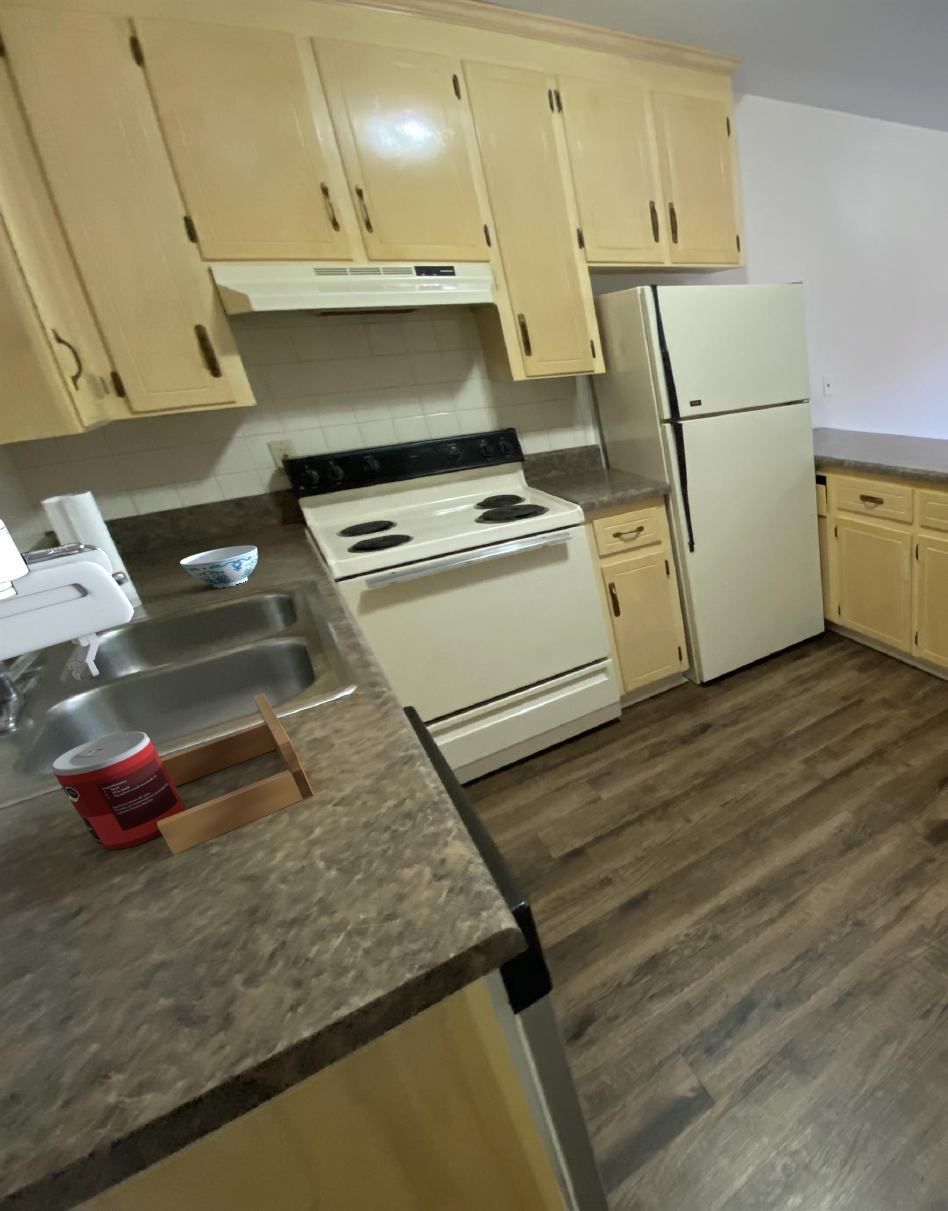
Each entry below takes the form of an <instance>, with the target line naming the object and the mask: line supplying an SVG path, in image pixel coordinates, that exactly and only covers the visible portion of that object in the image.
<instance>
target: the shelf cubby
mask: <svg viewBox="0 0 948 1211" xmlns="http://www.w3.org/2000/svg"><path fill="white" fill-rule="evenodd" d="M252 699H253V700H254V702H255V705H256V707H257V709H258V712H259V713H260V716H261V719H262V720H263V722H259V723H257V724H254V725H251V726H248V727H245V728H242V729H240V730H236V731H234V732H231V733H228V734H226V735H223V736H219V737H217V738H214V739H211V740H209V741H205V742H202V743H200V744H197V745H194V746H191V747H188V748H186V749H183V750H180V751H177V752H174V753H171V754H168V755H166V756H163V757H160V759H161V761H162V763H163V765H164V767H165V769H166V771H167V772H168V774H169V776H170V778H171V780H172V782H173V784H174V786H175V788H176V787H179V786H182V785H184V784H187V783H190V782H192V781H195V780H198V779H200V778H203V777H205V776H209V775H210V774H214V773H216V772H219V771H222V770H224V769H227V768H230V767H232V766H235V765H237V764H240V763H242V762H245V761H248V760H251V759H253V758H256V757H258V755H259V756H261V755H264V754H267V753H270V752H272V751H274V749H275V750H276V751H277V753H278V756H279V758H280V759H281V761H282V763H283V765H284V767H285V769H286V770H284V771H281V772H278V773H276V774H274V775H271V776H268V777H266V778H263V779H261V780H259V781H255V782H253V783H251V784H249V785H246V786H243V787H240V788H238V789H236V790H234V791H230V792H228V793H226V794H223V795H221V796H218V797H215V798H212V799H211V800H208V801H205V802H203V803H200V804H197V805H196V806H192V807H190V808H188V809H185V811H183V812H180V813H178V814H175V815H173V816H170V817H168V818H165V819H163V820H160V821H158V822H157V826H158V828H159V830H160V832H161V836H162V837H163V839H164V841H165V843H166V844H167V846H168V849H169V850H170V852H171V853H172V855H173V856H174V855H177V854H179V853H182V852H184V851H186V850H189V849H191V848H194V847H195V846H199V845H200V844H202V843H205V842H207V841H209V840H212V839H214V838H217V837H219V836H221V835H224V834H226V833H228V832H231V831H233V830H236V829H237V828H240V827H243V826H245V825H247V824H249V823H252V822H255V821H257V820H259V819H261V818H263V817H265V816H268V815H270V814H272V813H275V812H277V811H280V810H282V809H284V808H287V807H289V806H292V805H293V804H296V803H299V802H301V801H303V800H305V799H308V798H310V797H312V796H314V795H315V794H314V791H313V790H312V787H311V785H310V783H309V780H308V778H307V776H306V774H305V771H304V769H303V766H302V764H301V762H300V760H299V757H298V755H297V752H296V751H295V748H294V746H293V743H292V740H291V739H290V737H289V735H288V734H287V732H286V730H285V729H284V727H283V725H282V724H281V721H280V719H279V718H278V716H277V714H276V713H275V711H274V709H273V707H272V706H271V704H270V702H269V700H268V698H267V697H266V694H265V693H260V694H258V695H253V697H252ZM271 750H272V751H271ZM266 752H267V753H266ZM263 753H264V754H263ZM250 758H251V759H250Z"/></svg>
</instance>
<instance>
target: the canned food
mask: <svg viewBox="0 0 948 1211" xmlns="http://www.w3.org/2000/svg"><path fill="white" fill-rule="evenodd" d="M157 751H158V750H156V748H155V746H154V744H153V742H152V741H151V738H150V737H149V736H148V734H147V733H146V732H143V731H126V732H125V731H124V732H119V733H114V734H110V735H106V736H103V737H99V738H96V739H93V740H91V741H88V742H85V743H83V744H80V745H78V746H76V747H73V748H72V749H70V750H68V751H66V752H64V753H62V754H61V755H60V756H59V757H57V758H56V759H55V760H54V761H53V762H52V763H51V766H50V768H51V769H52V773H53V774H54V776H55V778H56V780H57V782H58V783H59V785H60V786H61V788H62V790H63V791H64V793H65V794H66V796H67V797H68V799H69V801H70V802H71V804H72V806H73V807H74V809H75V811H76V813H77V814H78V815H79V817H80V819H81V821H82V822H83V824H84V825H85V827H86V829H87V830H88V832H89V834H90V835H91V836H92V837H91V838H93V840H94V842H95V843H96V844H98V845H99V846H100V847H102V848H104V849H106V850H119V849H120V850H121V849H126V848H131V847H134V846H137V845H141V844H143V843H147V842H148V841H151V840H153V839H155V838H158V837H160V836H162V834H161V832H160V830H159V828H158V826H157V822H158V821H160V820H163V819H165V818H168V817H170V816H173V815H175V814H178V813H180V812H183V811H185V810H186V809H185V803H184V802H183V799H182V797H181V796H180V793H179V792H178V790H177V788H176V787H175V786H174V784H173V782H172V780H171V778H170V776H169V774H168V772H167V771H166V769H165V767H164V765H163V763H162V761H161V759H160V758H161V757H160V755H159V754H158V752H157Z"/></svg>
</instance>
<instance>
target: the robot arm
mask: <svg viewBox="0 0 948 1211" xmlns="http://www.w3.org/2000/svg"><path fill="white" fill-rule="evenodd" d="M85 549H87V550H85ZM88 549H89V550H88ZM113 573H114V566H113V564H112V562H111V560H110V557H109V555H108V553H107V552H106V551H104V549H102V548H100V547H99V546H97V545H93V544H83V543H82V542H79V541H78V542H77V541H76V542H69V543H64V544H61V545H60V546H53V547H47V548H40V549H34V550H31V551H25V552H20V550H19V549H18V547H17V545H16V543H15V542H14V539H13V537H12V536H11V534H10V532H9V530H8V528H7V526H6V524H5V523H4V521H3V520H2V519H1V518H0V662H3V661H6V660H8V659H12V658H15V657H19V656H22V655H26V654H29V653H32V652H36V651H39V650H42V649H46V648H49V647H53V646H56V645H59V644H63V643H65V642H69V641H70V642H71V643H72V644H73V645H77V646H79V649H78V653H77V657H76V660H74V661H71V662H69V663H67V664H66V665H67V668H68V670H70V671H71V675H72V677H73V678H74V679H75V680H76V681H81V682H82V681H85V680H88V679H92V678H93V677H97V676H99V675H100V673H99V670H98V668H97V666H96V664H95V662H94V661H95V659H96V655H97V652H98V649H99V646H100V640H99V638H98V636H97V634H96V633H99V632H102V631H105V630H109V629H112V628H116V627H118V626H122V625H127V624H128V623H130V622H131V620H132V618H133V616H134V613H135V609H134V607H133V605H132V604H131V602H130V600H129V598H128V597H127V595H126V594H125V592H124V590H123V589H122V588H121V586H120V585H119V584H118V582H117V581H116V580H115V578H114V577H113Z"/></svg>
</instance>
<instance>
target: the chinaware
mask: <svg viewBox="0 0 948 1211" xmlns="http://www.w3.org/2000/svg"><path fill="white" fill-rule="evenodd" d="M258 556H259V555H258V548H257V546H256V545H237V546H236V545H235V546H228V547H223V548H222V547H221V548H216V549H212V550H208V551H203V552H200V553H197V554H193V555H189V556H187V557H185V558H182V559H181V560H180V561H179V564H180V566H181V567H182V568H183V570H185V572H186V573H187V574H188V575H190V576H191V577H193V578H194V579H196V580H198V581H200V582H202V583H204V584H205V583H206V584H209V585H212V586H213V587H214V588H215V587H217V588H216V589H224V588H223V587H225V588H230V586H231V587H234V586H237V585H236V584H239V583H242V584H244V583H246V582H247V581H248V580H249V579H248V577H249V576H250V575H251V574H252V572H253V571H254V570H255V568H256V566H257V563H258ZM245 581H246V582H245ZM243 582H244V583H243ZM239 585H240V584H239Z"/></svg>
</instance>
